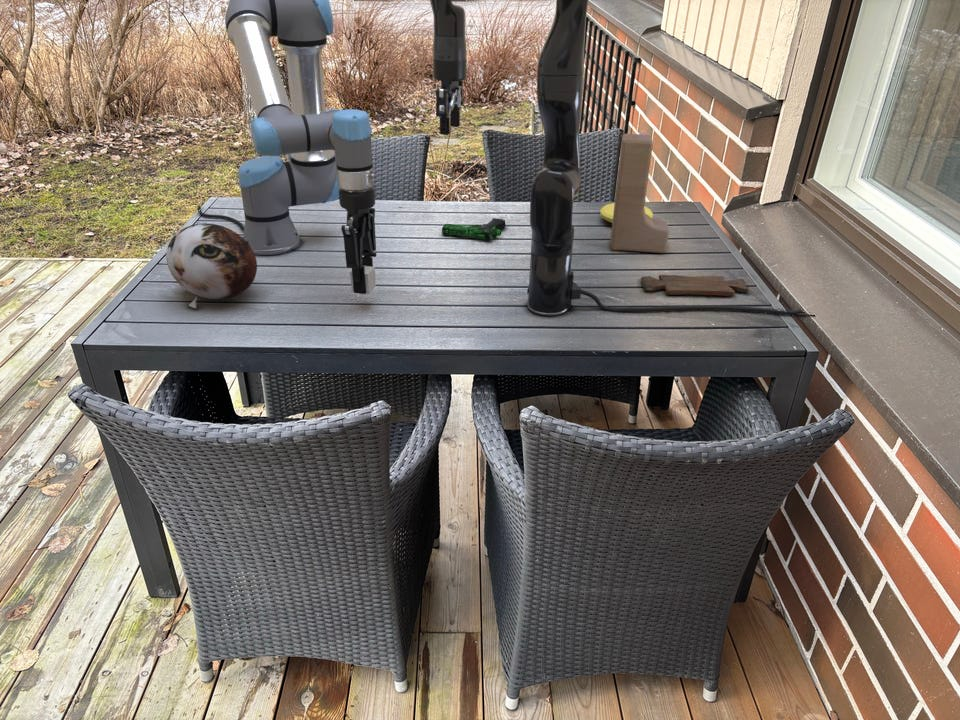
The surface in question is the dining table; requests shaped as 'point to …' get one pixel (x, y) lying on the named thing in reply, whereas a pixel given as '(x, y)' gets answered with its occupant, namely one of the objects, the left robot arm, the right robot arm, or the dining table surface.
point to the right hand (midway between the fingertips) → (450, 130)
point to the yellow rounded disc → (609, 210)
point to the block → (367, 279)
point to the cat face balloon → (211, 261)
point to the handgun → (476, 230)
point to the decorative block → (635, 200)
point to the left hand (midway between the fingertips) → (364, 288)
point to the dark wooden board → (694, 285)
